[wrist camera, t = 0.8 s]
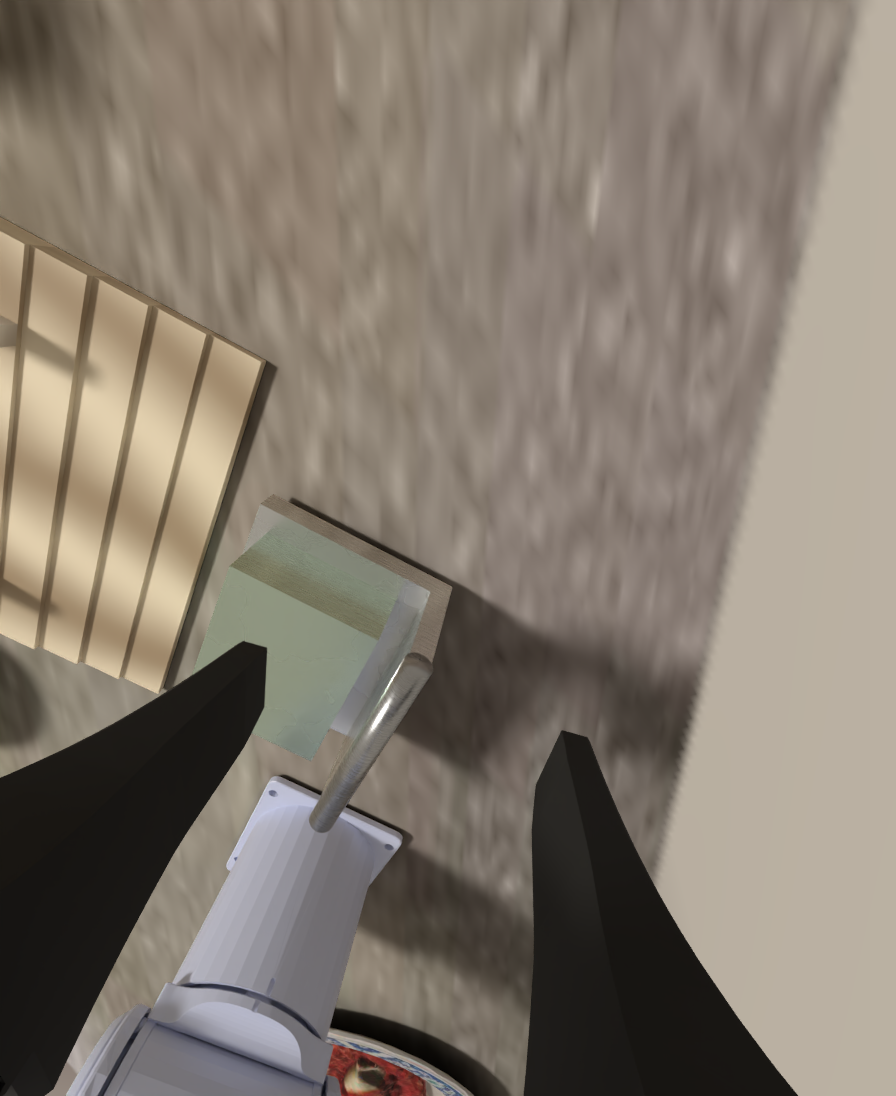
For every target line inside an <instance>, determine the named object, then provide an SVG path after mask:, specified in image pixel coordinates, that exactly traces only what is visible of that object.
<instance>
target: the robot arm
mask: <svg viewBox="0 0 896 1096" xmlns="http://www.w3.org/2000/svg"><path fill="white" fill-rule="evenodd" d="M266 665H267V647H263V646H260V645H256V644H253V643H249V642H246V641H242V642H240V643H238V644H237V645H235V646H234V647H232V648H231V649H229V650H228V651H227V652H225V653H224V654H222V655H221V656H219V657H218V658H217V659H215V660H214V661H212V662H211V663H209V664H208V665H206V666H205V667H203V668H202V669H201V670H199V671H198V672H196V673H195V674H193V675H192V676H190V677H189V678H187V679H186V680H184V681H182V682H181V683H179V684H178V685H176V686H175V687H173V688H172V689H170V690H169V691H167V692H165V693H164V694H162V695H161V696H159V697H158V698H156V699H154V700H153V701H151V702H149V703H148V704H146V705H144V706H143V707H141V708H139V709H137V710H136V711H134V712H132V713H131V714H129V715H127V716H126V717H124V718H122V719H121V720H119V721H117V722H115V723H113V724H112V725H110V726H108V727H106V728H104V729H102V730H101V731H99V732H97V733H95V734H93V735H91V736H89V737H87V738H85V739H83V740H81V741H79V742H77V743H75V744H73V745H71V746H69V747H67V748H65V749H63V750H61V751H59V752H57V753H55V754H53V755H50V756H48V757H46V758H44V759H42V760H40V761H38V762H35V763H33V764H31V765H29V766H26V767H24V768H22V769H20V770H17V771H15V772H13V773H11V774H8V775H6V776H4V777H1V778H0V1096H45V1095H46V1094H47V1093H49V1092H50V1091H51V1090H53V1089H54V1087H55V1084H56V1083H57V1080H58V1078H59V1076H60V1074H61V1072H62V1070H63V1068H64V1065H65V1063H66V1061H67V1059H68V1057H69V1055H70V1053H71V1051H72V1049H73V1047H74V1045H75V1043H76V1041H77V1039H78V1037H79V1035H80V1032H81V1030H82V1028H83V1026H84V1024H85V1022H86V1020H87V1018H88V1016H89V1014H90V1012H91V1010H92V1008H93V1006H94V1004H95V1002H96V1000H97V998H98V996H99V994H100V992H101V990H102V988H103V986H104V984H105V982H106V980H107V978H108V976H109V974H110V972H111V970H112V968H113V966H114V964H115V962H116V960H117V958H118V956H119V954H120V952H121V950H122V949H123V947H124V945H125V943H126V941H127V939H128V937H129V935H130V933H131V931H132V930H133V928H134V926H135V924H136V922H137V920H138V918H139V916H140V915H141V913H142V911H143V909H144V907H145V905H146V903H147V901H148V899H149V898H150V896H151V894H152V892H153V890H154V889H155V887H156V885H157V883H158V881H159V879H160V878H161V876H162V874H163V872H164V870H165V869H166V867H167V865H168V863H169V861H170V860H171V858H172V856H173V854H174V852H175V851H176V849H177V848H178V846H179V844H180V843H181V841H182V840H183V838H184V836H185V835H186V833H187V832H188V830H189V829H190V827H191V826H192V824H193V823H194V821H195V820H196V818H197V817H198V815H199V814H200V812H201V811H202V809H203V808H204V806H205V805H206V803H207V802H208V800H209V799H210V797H211V796H212V794H213V793H214V791H215V790H216V788H217V787H218V786H219V784H220V783H221V781H222V780H223V778H224V777H225V775H226V774H227V772H228V771H229V769H230V768H231V766H232V765H233V763H234V762H235V760H236V759H237V757H238V755H239V754H240V752H241V751H242V749H243V748H244V746H245V744H246V742H247V741H248V739H249V737H250V735H251V733H252V731H253V729H254V727H255V725H256V723H257V721H258V719H259V717H260V715H261V713H262V711H263V709H264V705H265V685H266ZM320 796H321V795H319V794H316V793H314V792H312V791H310V790H308V789H306V788H304V787H301V786H299V785H297V784H295V783H293V782H291V781H289V780H287V779H284V778H282V777H279V776H274V777H272V778H271V779H270V781H269V783H268V785H267V786H266V788H265V790H264V792H263V794H262V796H261V798H260V800H259V802H258V804H257V806H256V808H255V810H254V812H253V814H252V816H251V818H250V820H249V821H248V823H247V825H246V827H245V829H244V831H243V833H242V835H241V837H240V839H239V841H238V843H237V845H236V847H235V849H234V851H233V853H232V855H231V856H230V858H229V860H228V862H227V865H226V866H227V869H228V870H229V871H230V873H229V875H228V877H227V879H226V881H225V883H224V885H223V887H222V889H221V890H220V892H219V894H218V896H217V898H216V900H215V902H214V904H213V906H212V908H211V910H210V912H209V913H208V915H207V917H206V919H205V921H204V923H203V925H202V927H201V929H200V931H199V933H198V935H197V936H196V938H195V940H194V942H193V944H192V946H191V948H190V950H189V952H188V954H187V956H186V958H185V959H184V961H183V963H182V965H181V967H180V969H179V971H178V973H177V975H176V977H175V979H174V981H173V982H172V983H170V982H168V983H166V984H165V986H164V988H163V990H162V991H161V993H160V995H159V997H158V999H157V1001H156V1003H155V1005H154V1007H153V1008H152V1010H151V1008H149V1007H147V1006H145V1005H143V1004H137V1005H135V1006H134V1007H133V1008H132V1009H131V1010H130V1011H127V1012H126V1013H124V1014H122V1015H120V1016H119V1017H117V1018H116V1019H115V1020H114V1021H113V1022H112V1023H111V1024H110V1026H109V1027H108V1028H107V1030H106V1031H105V1032H104V1034H103V1035H102V1037H101V1038H100V1040H99V1041H98V1043H97V1044H96V1046H95V1047H94V1049H93V1051H92V1052H91V1054H90V1055H89V1057H88V1058H87V1060H86V1062H85V1063H84V1065H83V1067H82V1068H81V1070H80V1072H79V1073H78V1075H77V1077H76V1078H75V1080H74V1082H73V1084H72V1085H71V1087H70V1089H69V1090H68V1092H67V1094H66V1096H341V1093H340V1084H339V1081H338V1079H337V1078H336V1077H333V1076H329V1075H326V1073H327V1070H328V1066H329V1062H330V1058H331V1054H332V1051H333V1045H332V1044H330V1043H327V1042H326V1039H327V1035H328V1032H329V1028H330V1024H331V1021H332V1017H333V1014H334V1010H335V1006H336V1003H337V999H338V995H339V992H340V988H341V984H342V981H343V977H344V973H345V970H346V966H347V963H348V959H349V955H350V952H351V948H352V944H353V941H354V937H355V933H356V930H357V926H358V922H359V919H360V915H361V912H362V908H363V904H364V901H365V897H366V893H367V890H368V887H369V886H370V884H371V883H372V882H373V880H374V879H375V878H376V877H377V875H378V874H379V873H380V871H381V870H382V869H383V868H384V866H385V865H386V864H387V863H388V861H389V860H390V859H391V857H392V856H393V855H394V854H395V852H396V851H397V850H398V848H399V847H400V846H401V844H402V839H403V837H402V835H401V834H400V833H399V832H397V831H395V830H393V829H391V828H389V827H387V826H385V825H383V824H380V823H378V822H376V821H374V820H372V819H370V818H368V817H365V816H363V815H361V814H359V813H357V812H355V811H353V810H351V809H348V808H346V807H345V808H344V810H343V811H342V813H341V814H340V816H339V818H338V819H337V821H336V822H335V824H334V825H333V827H332V828H331V829H330V830H329V831H328V832H326V833H319V832H316V831H315V830H313V829H312V827H311V826H310V823H309V816H310V814H311V812H312V810H313V809H314V807H315V805H316V804H317V802H318V800H319V799H320ZM532 868H533V911H534V965H533V981H532V996H531V1012H530V1026H529V1039H528V1052H527V1065H526V1076H525V1087H524V1096H798V1095H797V1094H796V1093H795V1091H794V1090H793V1089H792V1088H791V1087H790V1085H789V1084H788V1083H787V1082H786V1080H785V1079H784V1078H783V1076H782V1075H781V1074H780V1073H779V1072H778V1071H777V1069H776V1068H775V1066H774V1065H773V1064H772V1063H771V1061H770V1060H769V1059H768V1057H767V1056H766V1055H765V1053H764V1052H763V1051H762V1049H761V1048H760V1047H759V1045H758V1044H757V1043H756V1041H755V1040H754V1039H753V1037H752V1036H751V1035H750V1033H749V1032H748V1030H747V1029H746V1028H745V1026H744V1025H743V1024H742V1022H741V1021H740V1020H739V1018H738V1017H737V1016H736V1014H735V1013H734V1011H733V1010H732V1008H731V1007H730V1005H729V1004H728V1002H727V1001H726V1000H725V998H724V996H723V995H722V994H721V992H720V991H719V989H718V988H717V986H716V985H715V983H714V982H713V980H712V979H711V978H710V976H709V975H708V973H707V972H706V970H705V969H704V967H703V966H702V964H701V963H700V961H699V960H698V958H697V957H696V955H695V953H694V952H693V950H692V949H691V947H690V945H689V944H688V942H687V941H686V939H685V938H684V936H683V934H682V933H681V931H680V929H679V928H678V926H677V924H676V923H675V921H674V919H673V917H672V916H671V914H670V913H669V911H668V909H667V907H666V905H665V904H664V902H663V900H662V898H661V897H660V895H659V893H658V891H657V889H656V887H655V886H654V884H653V882H652V880H651V878H650V876H649V874H648V872H647V870H646V868H645V866H644V864H643V863H642V861H641V859H640V857H639V855H638V853H637V851H636V849H635V847H634V844H633V842H632V840H631V838H630V836H629V834H628V832H627V830H626V827H625V825H624V823H623V821H622V819H621V816H620V814H619V812H618V810H617V808H616V805H615V803H614V801H613V798H612V796H611V794H610V791H609V789H608V786H607V784H606V782H605V779H604V777H603V774H602V772H601V769H600V767H599V764H598V762H597V759H596V756H595V754H594V751H593V749H592V746H591V743H590V741H589V740H588V738H587V737H584V736H581V735H577V734H573V733H570V732H566V731H563V730H562V731H561V733H560V735H559V737H558V739H557V741H556V743H555V745H554V748H553V750H552V752H551V754H550V756H549V758H548V760H547V762H546V765H545V767H544V769H543V771H542V773H541V775H540V777H539V779H538V781H537V784H536V789H535V799H534V809H533V822H532ZM150 1011H151V1012H150Z"/></svg>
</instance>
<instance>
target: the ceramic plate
mask: <svg viewBox="0 0 896 1096" xmlns="http://www.w3.org/2000/svg"><path fill="white" fill-rule="evenodd" d="M326 1042H327V1043H330V1044H332V1045H333V1051H332V1054H331V1058H330V1062H329V1066H328V1070H327V1073H326V1075H329V1076H333V1077H336V1078H337V1079H338V1081H339V1084H340V1093H341V1096H474V1095H473V1094H472V1093H471V1092H470V1091H469V1090H467V1089H466V1088H465V1087H464V1086H462V1085H461V1084H460V1083H458V1082H457V1081H456V1080H454V1079H453V1078H452V1077H450V1076H449V1075H448V1074H446V1073H444V1072H443V1071H441V1070H439V1069H438V1068H436V1067H434V1066H432V1065H431V1064H429V1063H427V1062H425V1061H424V1060H422V1059H420V1058H418V1057H415V1056H413V1055H411V1054H409V1053H406V1052H404V1051H402V1050H399V1049H397V1048H395V1047H393V1046H390V1045H388V1044H385V1043H382V1042H380V1041H378V1040H375V1039H372V1038H369V1037H366V1036H363V1035H361V1034H356V1033H352V1032H348V1031H344V1030H339V1029H335V1028H329V1032H328V1035H327V1039H326Z"/></svg>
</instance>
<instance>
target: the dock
mask: <svg viewBox="0 0 896 1096" xmlns="http://www.w3.org/2000/svg"><path fill="white" fill-rule="evenodd" d="M265 364H266V360H264V359H262V358H260V357H258V356H257V355H255V354H253V353H251V352H249V351H247V350H245V349H244V348H242V347H240V346H238V345H236V344H234V343H233V342H231V341H229V340H227V339H225V338H223V337H221V336H220V335H218V334H216V333H214V332H212V331H210V330H208V329H207V328H205V327H203V326H201V325H199V324H197V323H196V322H194V321H192V320H190V319H188V318H186V317H184V316H183V315H181V314H179V313H177V312H175V311H173V310H171V309H170V308H168V307H166V306H164V305H162V304H160V303H159V302H157V301H155V300H153V299H151V298H149V297H147V296H146V295H144V294H142V293H140V292H138V291H136V290H135V289H133V288H131V287H129V286H127V285H125V284H123V283H122V282H120V281H118V280H116V279H114V278H112V277H110V276H109V275H107V274H105V273H103V272H101V271H99V270H98V269H96V268H94V267H92V266H90V265H88V264H86V263H85V262H83V261H81V260H79V259H77V258H75V257H73V256H72V255H70V254H68V253H66V252H64V251H62V250H61V249H59V248H57V247H55V246H53V245H51V244H49V243H48V242H46V241H44V240H42V239H40V238H38V237H36V236H35V235H33V234H31V233H29V232H27V231H25V230H24V229H22V228H20V227H18V226H16V225H14V224H12V223H11V222H9V221H7V220H5V219H3V218H1V217H0V634H3V635H5V636H7V637H9V638H11V639H13V640H15V641H17V642H20V643H22V644H24V645H26V646H28V647H30V648H32V649H35V648H36V647H38V646H39V647H41V648H44V649H46V650H48V651H50V652H52V653H54V654H56V655H58V656H61V657H63V658H65V659H67V660H69V661H71V662H73V663H75V664H78V663H79V662H80V661H81V662H83V663H86V664H88V665H90V666H92V667H94V668H96V669H98V670H100V671H102V672H105V673H107V674H109V675H111V676H113V677H115V678H117V679H119V678H120V677H123V678H126V679H128V680H130V681H132V682H134V683H136V684H138V685H140V686H142V687H145V688H147V689H149V690H151V691H153V692H155V693H157V694H158V693H159V692H160V691H161V690H162V689H163V687H164V684H165V681H166V677H167V674H168V671H169V668H170V665H171V662H172V658H173V655H174V652H175V649H176V646H177V643H178V639H179V636H180V633H181V630H182V627H183V624H184V620H185V617H186V614H187V611H188V608H189V605H190V601H191V598H192V595H193V592H194V589H195V586H196V582H197V579H198V576H199V573H200V570H201V567H202V563H203V560H204V557H205V554H206V551H207V548H208V544H209V541H210V538H211V535H212V532H213V529H214V525H215V522H216V519H217V516H218V513H219V510H220V506H221V503H222V500H223V497H224V494H225V491H226V487H227V484H228V481H229V478H230V475H231V472H232V468H233V465H234V462H235V459H236V456H237V453H238V449H239V446H240V443H241V440H242V437H243V434H244V430H245V427H246V424H247V421H248V418H249V415H250V411H251V408H252V405H253V402H254V399H255V396H256V392H257V389H258V386H259V383H260V380H261V376H262V373H263V370H264V367H265Z"/></svg>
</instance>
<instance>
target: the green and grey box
mask: <svg viewBox="0 0 896 1096" xmlns="http://www.w3.org/2000/svg"><path fill="white" fill-rule="evenodd" d="M451 591H452V586H450V585H448V584H446V583H444V582H442V581H440V580H438V579H436V578H434V577H432V576H430V575H428V574H427V573H425V572H423V571H421V570H419V569H417V568H415V567H413V566H411V565H409V564H407V563H405V562H403V561H401V560H400V559H398V558H396V557H394V556H392V555H390V554H388V553H386V552H384V551H382V550H380V549H378V548H376V547H374V546H372V545H371V544H369V543H367V542H365V541H363V540H361V539H359V538H357V537H355V536H353V535H351V534H349V533H347V532H345V531H344V530H342V529H340V528H338V527H336V526H334V525H332V524H330V523H328V522H326V521H324V520H322V519H320V518H318V517H316V516H315V515H313V514H311V513H309V512H307V511H305V510H303V509H301V508H299V507H297V506H295V505H293V504H291V503H289V502H288V501H286V500H284V499H282V498H280V497H278V496H276V495H274V494H273V495H272V496H270V497H269V498H268V499H266V500H265V501H264V502H262V503H261V504H260V507H259V509H258V512H257V515H256V518H255V521H254V523H253V526H252V529H251V532H250V535H249V537H248V540H247V543H246V546H245V549H244V552H243V554H242V555H241V556H240V557H239V558H238V559H237V560H236V561H235V562H234V563H233V564H231V565H230V567H229V570H228V572H227V575H226V578H225V581H224V584H223V587H222V590H221V593H220V595H219V598H218V601H217V604H216V607H215V610H214V613H213V616H212V619H211V621H210V624H209V627H208V630H207V633H206V636H205V639H204V642H203V644H202V647H201V650H200V653H199V656H198V659H197V662H196V665H195V668H194V670H193V673H192V675H193V674H195V673H196V672H198V671H199V670H201V669H202V668H203V667H205V666H206V665H208V664H209V663H211V662H212V661H214V660H215V659H217V658H218V657H219V656H221V655H222V654H224V653H225V652H227V651H228V650H229V649H231V648H232V647H234V646H235V645H237V644H238V643H240V642H242V641H246V642H249V643H253V644H256V645H260V646H263V647H267V665H266V685H265V705H264V709H263V711H262V713H261V715H260V717H259V719H258V721H257V723H256V725H255V727H254V729H253V731H252V734H255V735H257V736H259V737H261V738H263V739H265V740H267V741H269V742H271V743H274V744H276V745H278V746H280V747H282V748H284V749H286V750H288V751H290V752H293V753H295V754H297V755H299V756H301V757H303V758H305V759H307V760H309V761H311V760H312V759H313V757H314V755H315V753H316V751H317V750H318V748H319V746H320V744H321V743H322V741H323V739H324V737H325V735H326V734H327V732H328V730H329V728H332V729H334V730H336V731H338V732H340V733H342V734H344V735H346V737H345V739H344V741H343V744H342V746H341V749H340V751H339V753H338V756H337V758H336V761H335V763H334V765H333V768H332V770H331V772H330V775H329V777H328V780H327V782H326V784H325V787H324V789H323V791H322V794H321V796H320V799H319V800H318V802H317V804H316V805H315V807H314V809H313V810H312V812H311V814H310V816H309V823H310V826H311V827H312V829H313V830H315V831H316V832H319V833H326V832H328V831H329V830H330V829H331V828H332V827H333V825H334V824H335V822H336V821H337V819H338V818H339V816H340V814H341V813H342V811H343V810H344V808H345V807H346V805H347V804H348V802H349V801H350V799H351V798H352V796H353V794H354V793H355V791H356V790H357V788H358V787H359V785H360V784H361V782H362V781H363V779H364V778H365V776H366V775H367V773H368V771H369V770H370V768H371V767H372V765H373V764H374V762H375V761H376V759H377V758H378V756H379V755H380V753H381V751H382V750H383V748H384V747H385V745H386V744H387V742H388V741H389V739H390V738H391V736H392V735H393V733H394V731H395V730H396V728H397V727H398V725H399V724H400V722H401V721H402V719H403V718H404V716H405V715H406V713H407V711H408V710H409V708H410V707H411V705H412V704H413V702H414V701H415V699H416V698H417V696H418V695H419V693H420V691H421V690H422V688H423V687H424V685H425V684H426V682H427V681H428V679H429V678H430V676H431V675H432V673H433V665H432V662H433V658H434V654H435V651H436V647H437V643H438V640H439V636H440V632H441V628H442V625H443V621H444V617H445V613H446V610H447V606H448V602H449V598H450V595H451Z"/></svg>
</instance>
